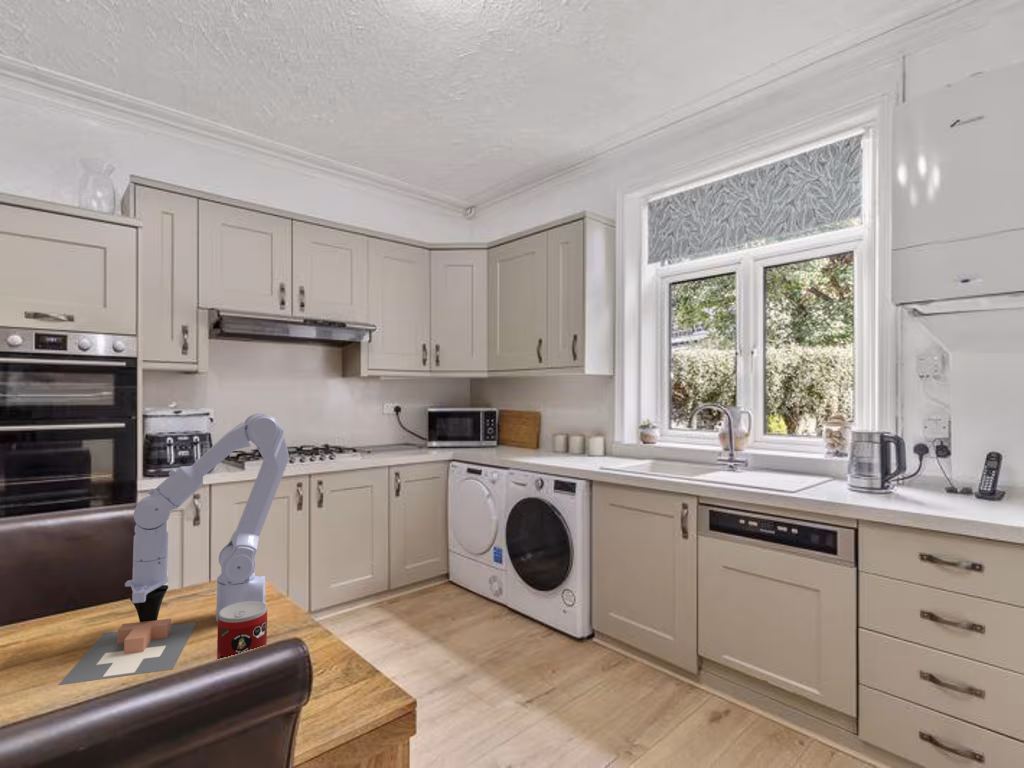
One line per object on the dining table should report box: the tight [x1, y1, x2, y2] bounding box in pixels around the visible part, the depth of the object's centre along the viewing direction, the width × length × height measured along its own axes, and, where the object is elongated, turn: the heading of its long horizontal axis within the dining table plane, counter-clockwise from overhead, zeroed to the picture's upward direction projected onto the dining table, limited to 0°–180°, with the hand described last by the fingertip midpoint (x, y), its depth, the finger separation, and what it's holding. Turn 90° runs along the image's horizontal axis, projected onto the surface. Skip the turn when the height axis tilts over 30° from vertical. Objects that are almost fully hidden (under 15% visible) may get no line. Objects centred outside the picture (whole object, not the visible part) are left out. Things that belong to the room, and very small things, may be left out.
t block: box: [117, 618, 172, 654], centre depth 102 cm, size 8×8×2 cm
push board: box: [58, 621, 197, 686], centre depth 99 cm, size 16×20×1 cm
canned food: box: [216, 601, 268, 660], centre depth 93 cm, size 8×8×11 cm
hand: (148, 626), depth 106 cm, fingers closed
